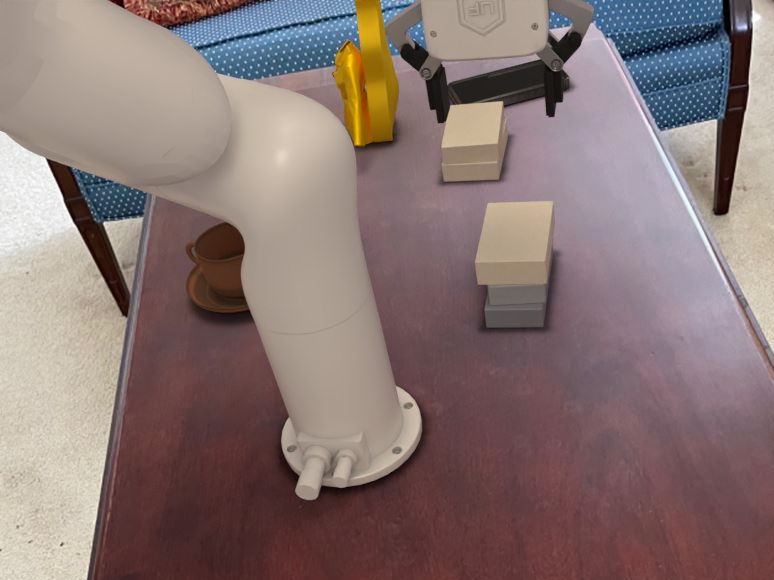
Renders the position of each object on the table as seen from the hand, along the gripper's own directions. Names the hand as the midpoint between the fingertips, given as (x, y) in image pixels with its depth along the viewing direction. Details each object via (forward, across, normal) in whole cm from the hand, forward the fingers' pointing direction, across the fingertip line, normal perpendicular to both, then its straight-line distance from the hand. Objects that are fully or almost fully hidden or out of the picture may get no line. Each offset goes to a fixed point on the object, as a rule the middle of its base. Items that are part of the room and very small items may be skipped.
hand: (497, 112), depth 83 cm
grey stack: (+18, +1, -2) cm, 18 cm away
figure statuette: (+18, -21, +31) cm, 42 cm away
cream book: (+14, +1, -2) cm, 14 cm away
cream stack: (+18, -7, +24) cm, 31 cm away
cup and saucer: (+18, -29, 0) cm, 34 cm away
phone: (+18, -5, +41) cm, 45 cm away
